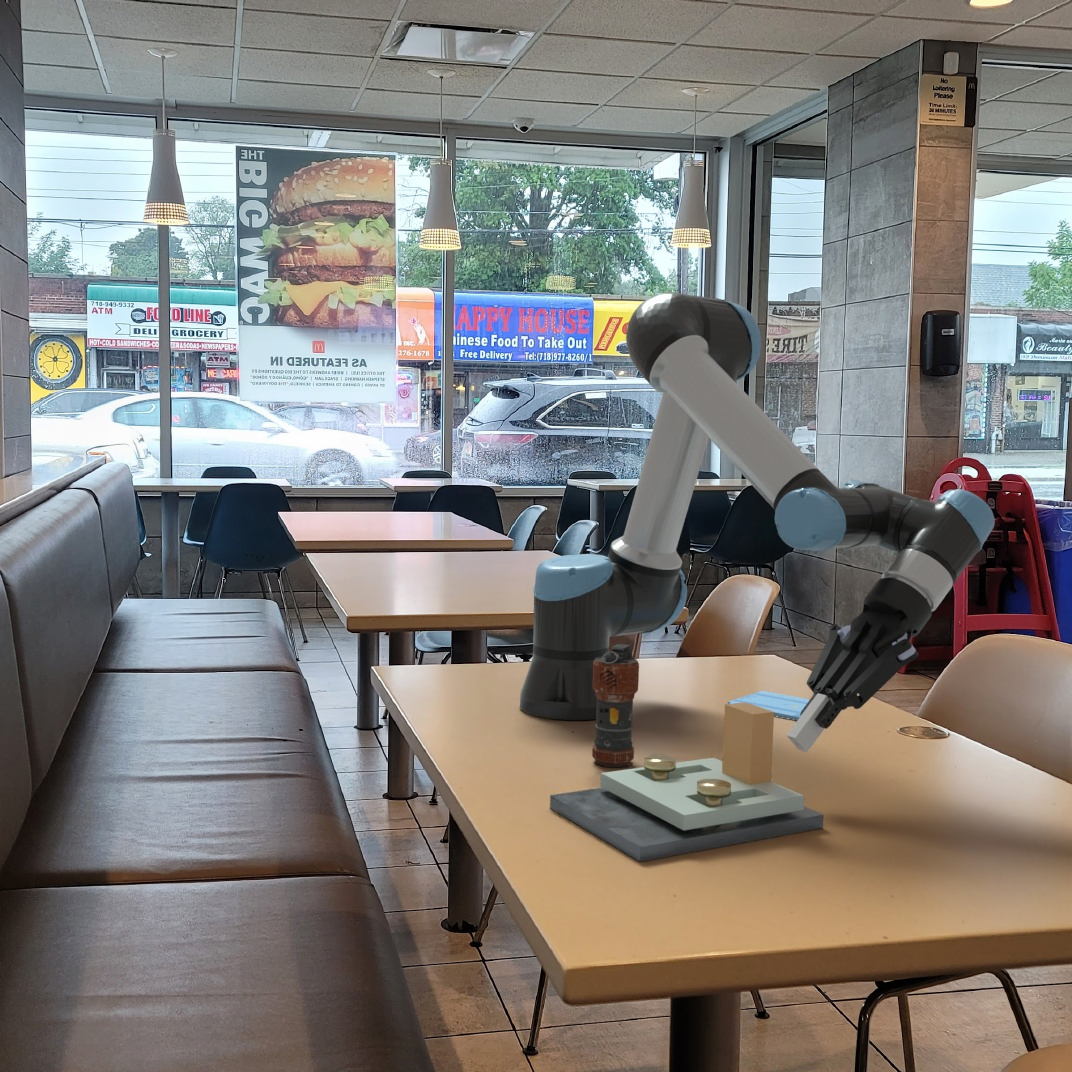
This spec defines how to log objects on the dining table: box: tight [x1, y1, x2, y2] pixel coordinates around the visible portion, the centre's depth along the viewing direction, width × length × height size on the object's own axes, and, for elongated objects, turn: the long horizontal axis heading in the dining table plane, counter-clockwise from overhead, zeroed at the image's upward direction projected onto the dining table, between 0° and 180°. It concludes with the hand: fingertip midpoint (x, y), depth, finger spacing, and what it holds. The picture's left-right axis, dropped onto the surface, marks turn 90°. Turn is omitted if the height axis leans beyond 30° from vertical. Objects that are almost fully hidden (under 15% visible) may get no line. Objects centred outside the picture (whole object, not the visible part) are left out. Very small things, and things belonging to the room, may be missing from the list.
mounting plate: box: [549, 754, 824, 863], centre depth 127 cm, size 18×24×5 cm
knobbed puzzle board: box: [600, 702, 805, 830], centre depth 128 cm, size 16×16×10 cm
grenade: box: [591, 643, 640, 768], centre depth 149 cm, size 6×8×15 cm
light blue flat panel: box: [727, 690, 811, 721], centre depth 182 cm, size 14×12×1 cm
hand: (796, 743), depth 134 cm, fingers closed
